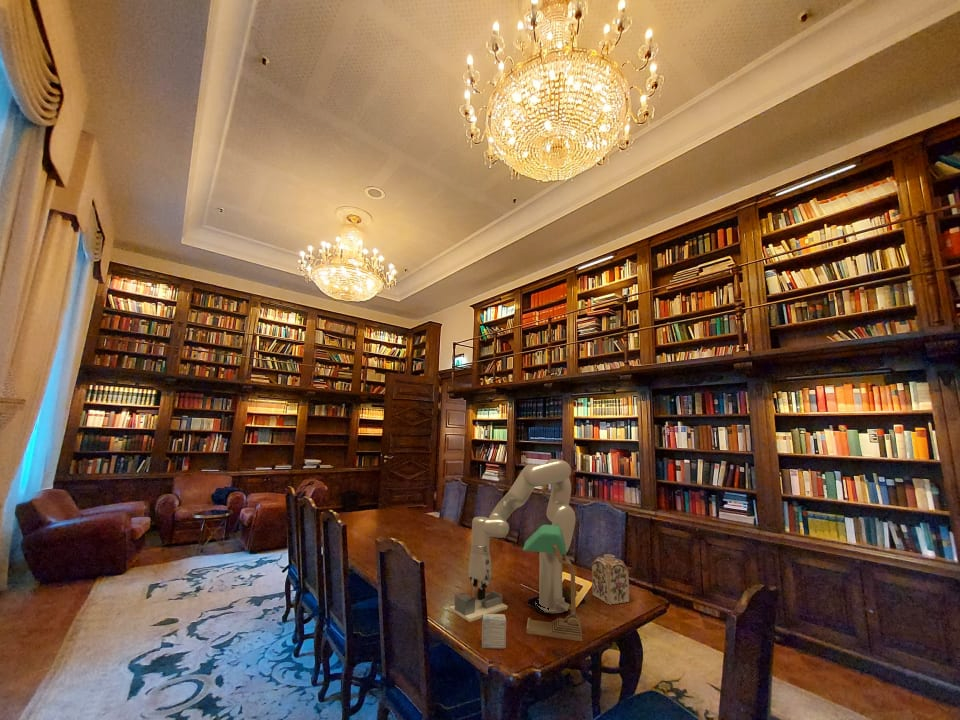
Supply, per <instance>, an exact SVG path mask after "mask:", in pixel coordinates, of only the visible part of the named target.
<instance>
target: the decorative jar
mask: <svg viewBox="0 0 960 720" xmlns="http://www.w3.org/2000/svg"><path fill="white" fill-rule="evenodd" d="M629 577H630V576H629V569H628V567H627V565H626V564H625V562H624V561H623V560H621V559H618V558H616V557H615V555H613V554H610V553H608V554H607V553H606V554H603V556H598V557H596V558H595V560H594V561H593V562H592V563H591V589H592V596H593V597H595V598H597V599H598V600H600V601H602V602H603V601H604V603H605V604H607V605H608V604H609V606H611V605H612V604H613V605H618V604H619V603H620V604H626V602H627V603H630V581H629Z"/></svg>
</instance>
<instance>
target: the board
mask: <svg viewBox="0 0 960 720" xmlns="http://www.w3.org/2000/svg"><path fill="white" fill-rule="evenodd" d="M454 608H455V604H454V605H450V606H449V611H451V612H453V613H454V614H456V615H458V616H459V617H461V618H462V619H464V620H465V621H467V622H469V623H472V622H474V621H476V620H479V619H482V614H498V613H500V612H502V611H505V610H507V609H508V605H507V604H505V603H503V594H502V593H499V592H497V591H495V590H493V589H490V590H489V592H487V593H485V602H484V607H481V608H478V609H475V613H472V614H469V615H466V616H465V615H463V614H461V613H460V612H458V611H456V610H455V609H454Z"/></svg>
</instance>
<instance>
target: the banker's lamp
mask: <svg viewBox="0 0 960 720" xmlns="http://www.w3.org/2000/svg"><path fill="white" fill-rule="evenodd" d="M522 551H525V552H526V551H527V552H535V553H536V552H537V553H539V552H545V553H555V554H556V555H557V558H558V561H559V562H560V563H562V565H566V566H567V567H568V570H569V573H570V614H569V615H567V616H565V618H562V617H557V618H556V619H555V620H552V621H544V620H535V619H531V617H528V618H527V623H526V631H525V632H526V634H528V635H535V636H542V637H548V638H557V639H563V640H570V641H577V642H583V633H582V632H583V631H582V625H581V620H580V619H581V618H580V616H579V615H577V614H576V613H577V612H576V610H577V609H576V573H575V568H574V566H573V564H572V562H571V560H570V559H569V557H568V556H567V553H566V544H565V541H564V537H563V534H562V530H561V528H560V527H559V526H557V525H552V524H542V525H541V526H539V527H538V528H537V529H536V531H534V533H532V535H530V536H529V537H528V538H527V539H526V541H525V542H524V546H523V548H522ZM561 555H562V556H561Z"/></svg>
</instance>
